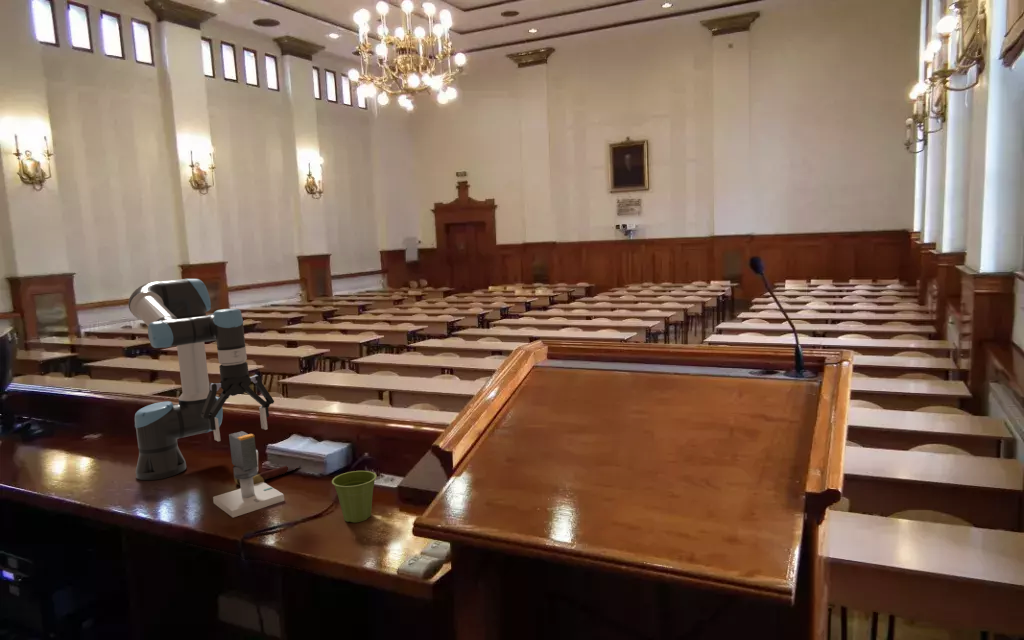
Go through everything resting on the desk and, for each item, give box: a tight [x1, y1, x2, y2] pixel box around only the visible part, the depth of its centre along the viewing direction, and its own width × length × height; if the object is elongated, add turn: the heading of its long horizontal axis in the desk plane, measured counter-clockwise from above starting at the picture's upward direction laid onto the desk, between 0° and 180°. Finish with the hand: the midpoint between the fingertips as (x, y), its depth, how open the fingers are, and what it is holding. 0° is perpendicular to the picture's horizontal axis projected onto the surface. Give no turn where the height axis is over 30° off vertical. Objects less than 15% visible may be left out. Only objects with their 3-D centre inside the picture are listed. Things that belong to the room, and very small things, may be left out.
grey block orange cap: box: [228, 430, 259, 479], centre depth 192 cm, size 9×6×13 cm
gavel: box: [233, 465, 288, 486], centre depth 213 cm, size 21×5×10 cm
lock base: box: [212, 477, 285, 518], centre depth 194 cm, size 15×15×8 cm
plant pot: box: [331, 470, 378, 524], centre depth 179 cm, size 12×12×11 cm
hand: (241, 434), depth 191 cm, fingers open, 13 cm apart
